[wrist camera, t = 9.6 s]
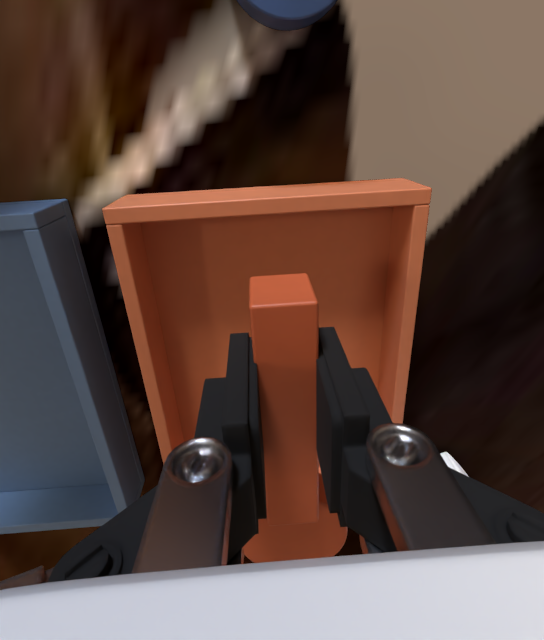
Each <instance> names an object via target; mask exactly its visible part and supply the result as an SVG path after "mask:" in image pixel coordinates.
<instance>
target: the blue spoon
mask: <svg viewBox="0 0 544 640" xmlns="http://www.w3.org/2000/svg"><path fill="white" fill-rule="evenodd" d="M336 1H337V0H237V2H238V3H239V4H240V6H241V7H242V8H243V9H244V10H245V11H246V12H247V13H248V14H249V15H250V16H251V17H252V18H253V19H255V20H256V21H257V22H259V23H261V24H263V25H265V26H267V27H270V28H273V29H277V30H289V31H290V30H297V29H301V28H304V27H307V26H309V25H311V24H313V23H315V22H316V21H318V20H319V19H321V18H322V17H323V16H324V15H325V14H326V13H327V12H328V11H329V10H330V9H331V8H332V7H333V6H334V4H335V3H336Z"/></svg>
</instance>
